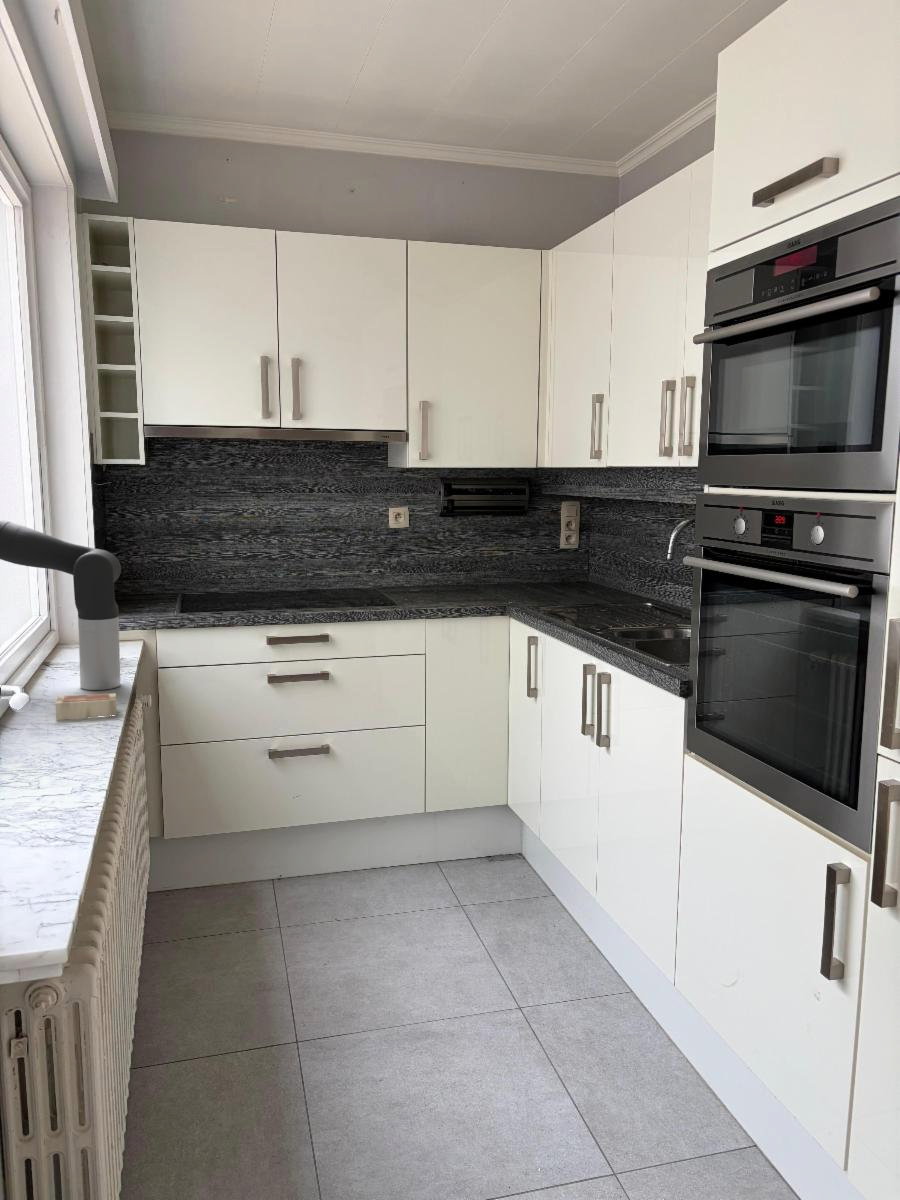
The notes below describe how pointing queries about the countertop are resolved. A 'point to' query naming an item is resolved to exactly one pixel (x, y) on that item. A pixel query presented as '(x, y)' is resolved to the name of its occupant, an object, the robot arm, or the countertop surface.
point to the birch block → (85, 706)
